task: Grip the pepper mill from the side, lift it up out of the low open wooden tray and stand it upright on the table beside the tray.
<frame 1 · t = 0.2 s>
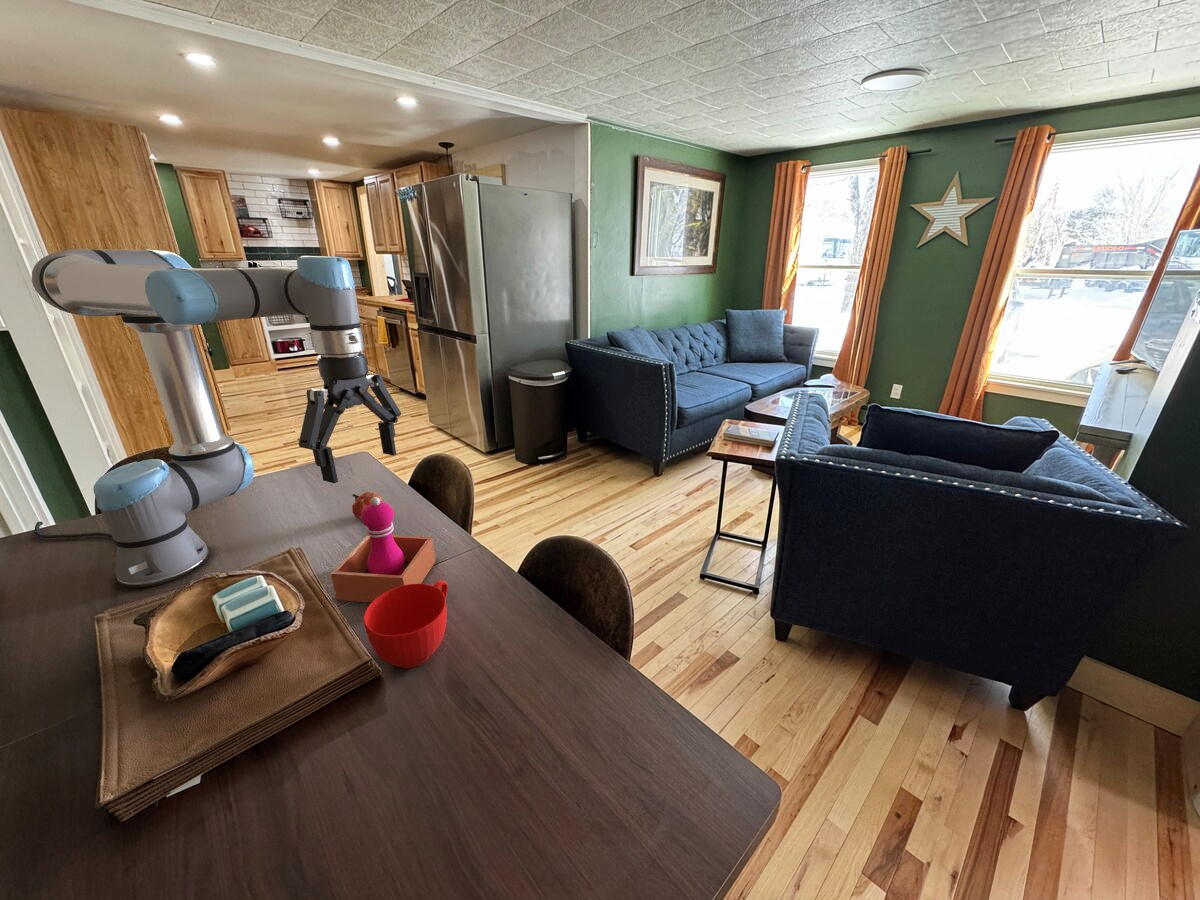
hand: (362, 466, 89), 28 cm above the table, tool pointing down, fingers open, 13 cm apart
pepper mill: (389, 580, 102), resting in open wooden tray
pomegranate: (370, 517, 125), on the table
ceramic cup: (420, 645, 85), on the table
open wooden tray: (389, 579, 102), on the table
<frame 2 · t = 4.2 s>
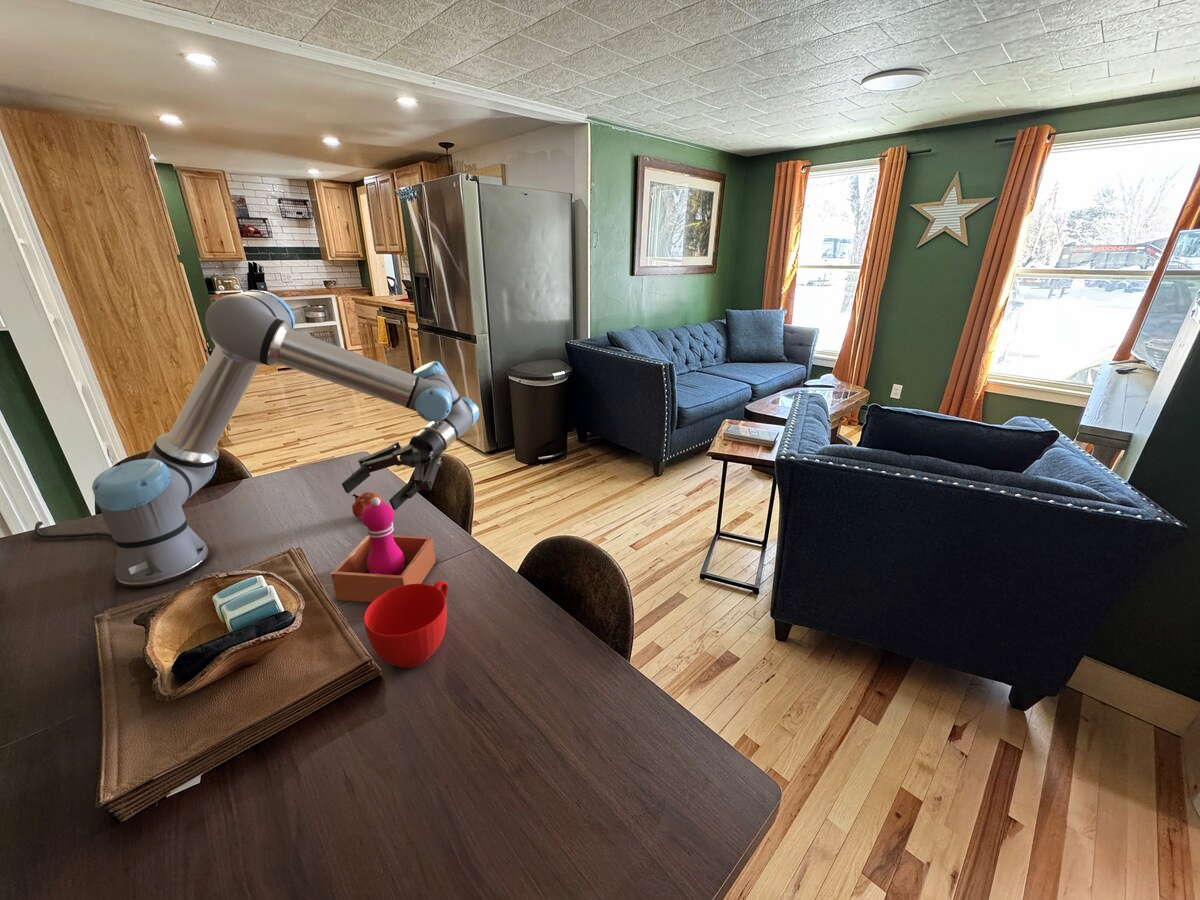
hand: (367, 496, 101), 17 cm above the table, tool tilted 75°, fingers open, 13 cm apart
nothing on the table moved.
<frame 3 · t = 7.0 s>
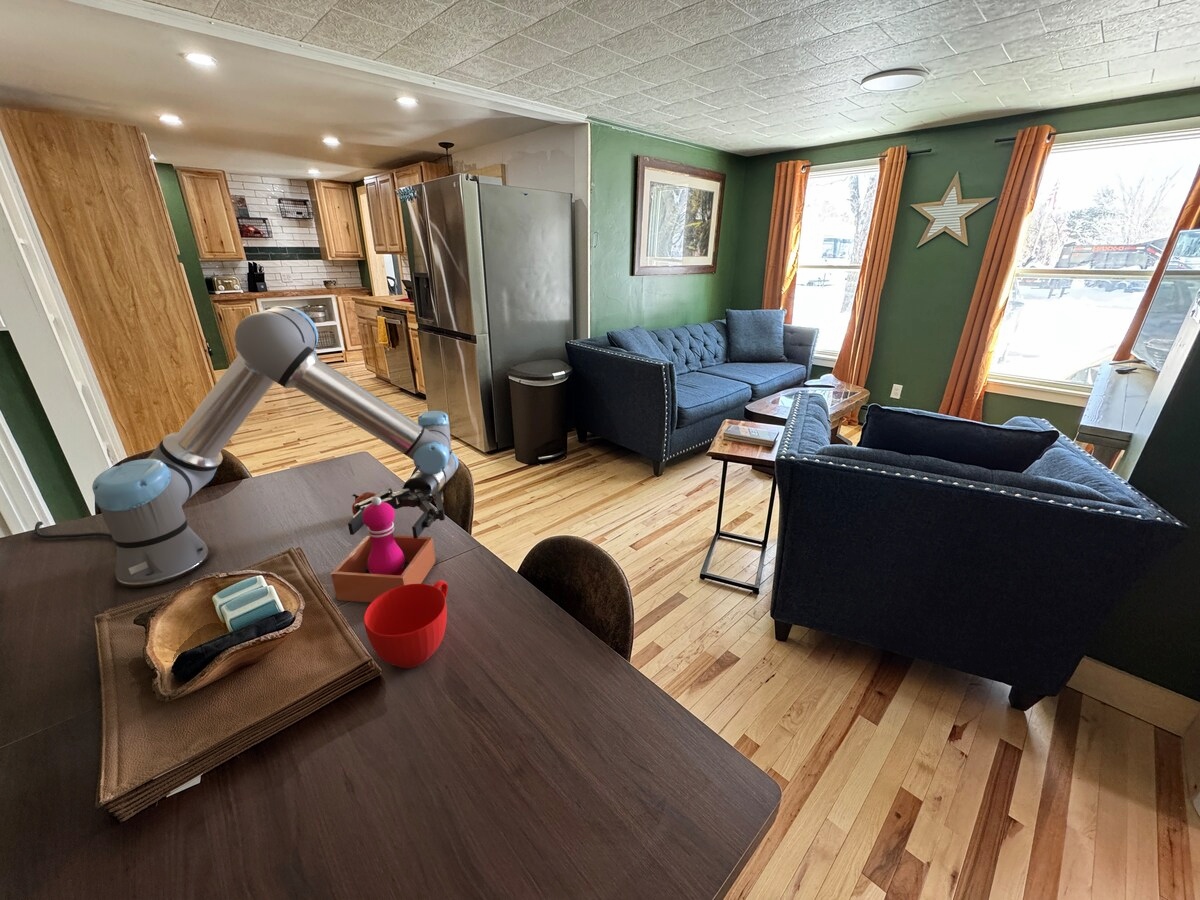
hand: (382, 531, 98), 12 cm above the table, tool horizontal, fingers open, 13 cm apart
nothing on the table moved.
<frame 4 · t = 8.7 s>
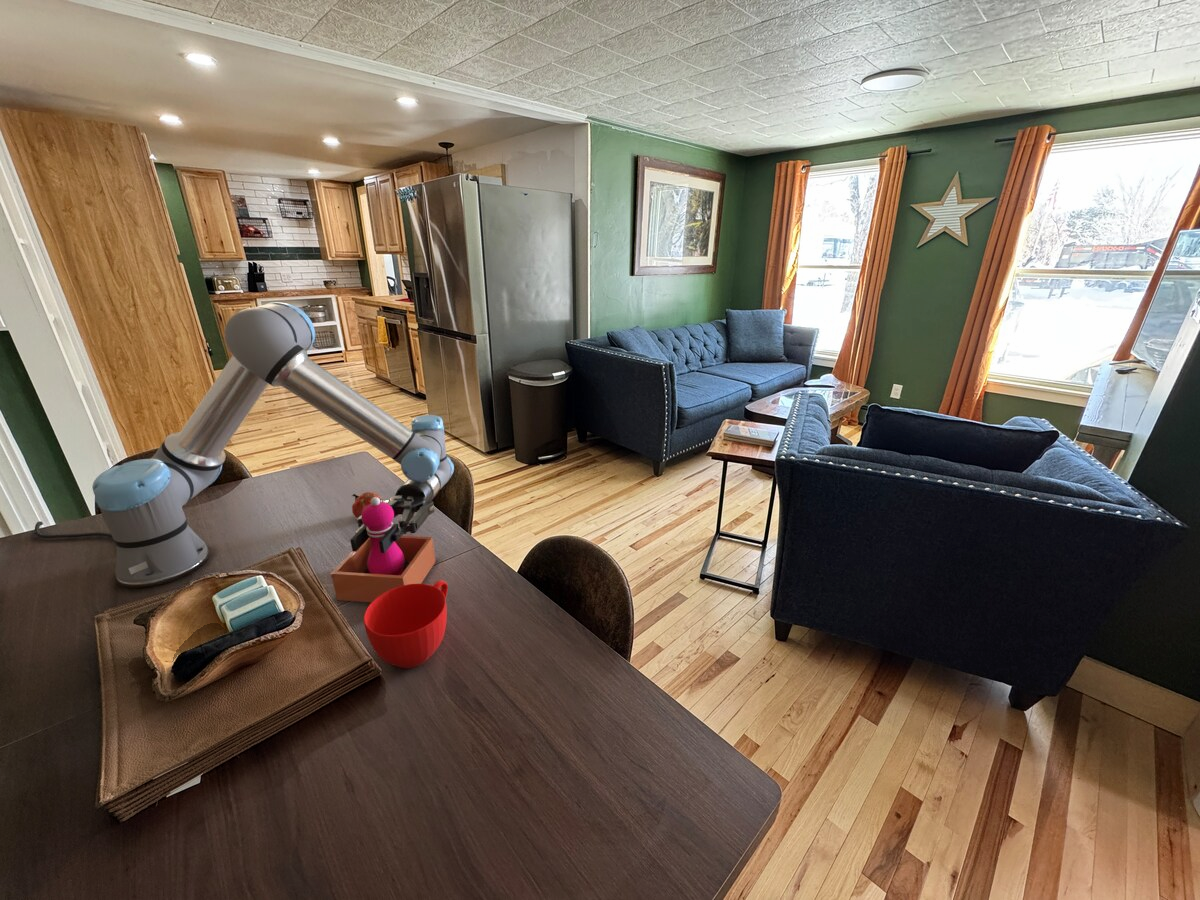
hand: (367, 546, 92), 12 cm above the table, tool horizontal, fingers closed on pepper mill, 5 cm apart
pepper mill: (389, 580, 102), resting in open wooden tray, touching gripper
everything else where it was.
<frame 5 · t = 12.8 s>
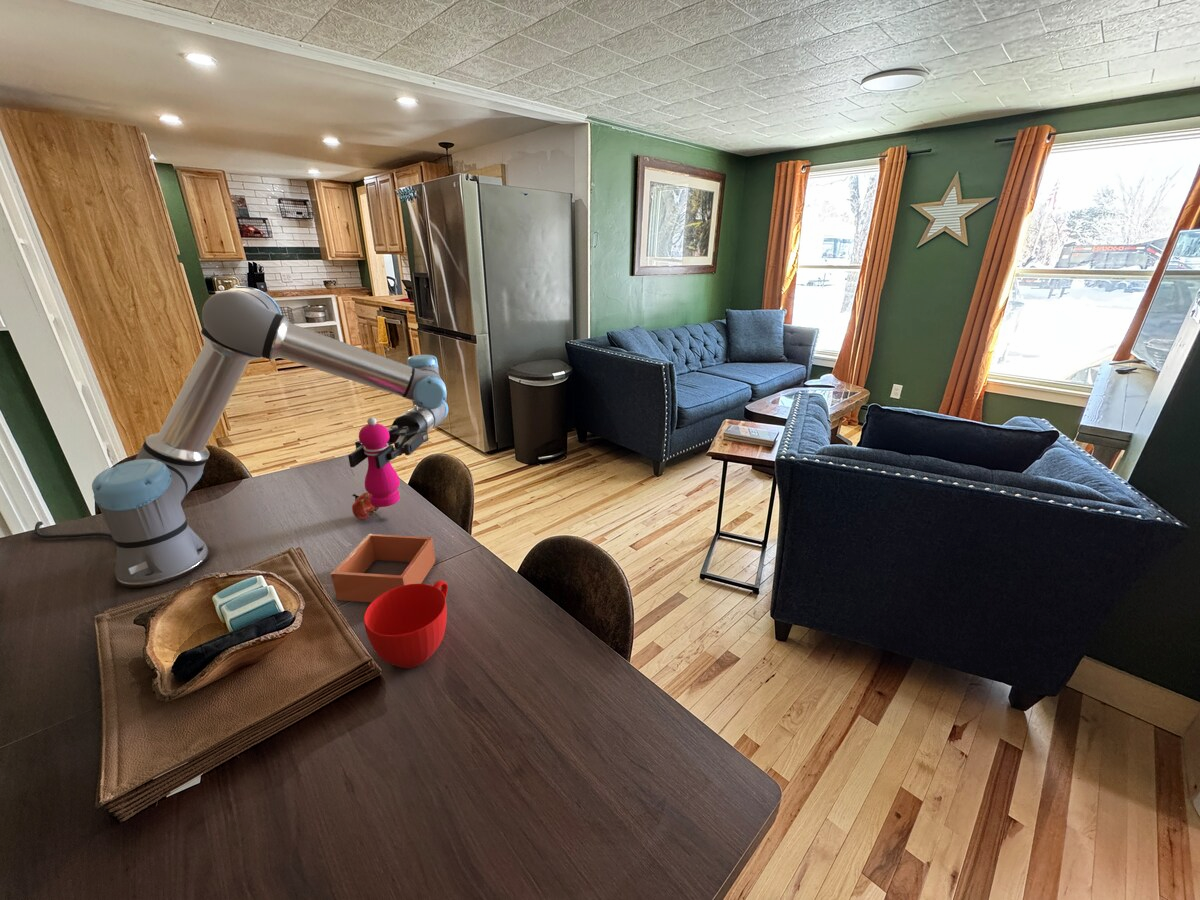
hand: (364, 461, 98), 25 cm above the table, tool horizontal, fingers closed on pepper mill, 5 cm apart
pepper mill: (385, 501, 108), point 13 cm above the table, touching gripper
everything else where it was.
when the fingers open (12 cm above the table, at t = 16.9 s): pepper mill stays where it is, on the table.
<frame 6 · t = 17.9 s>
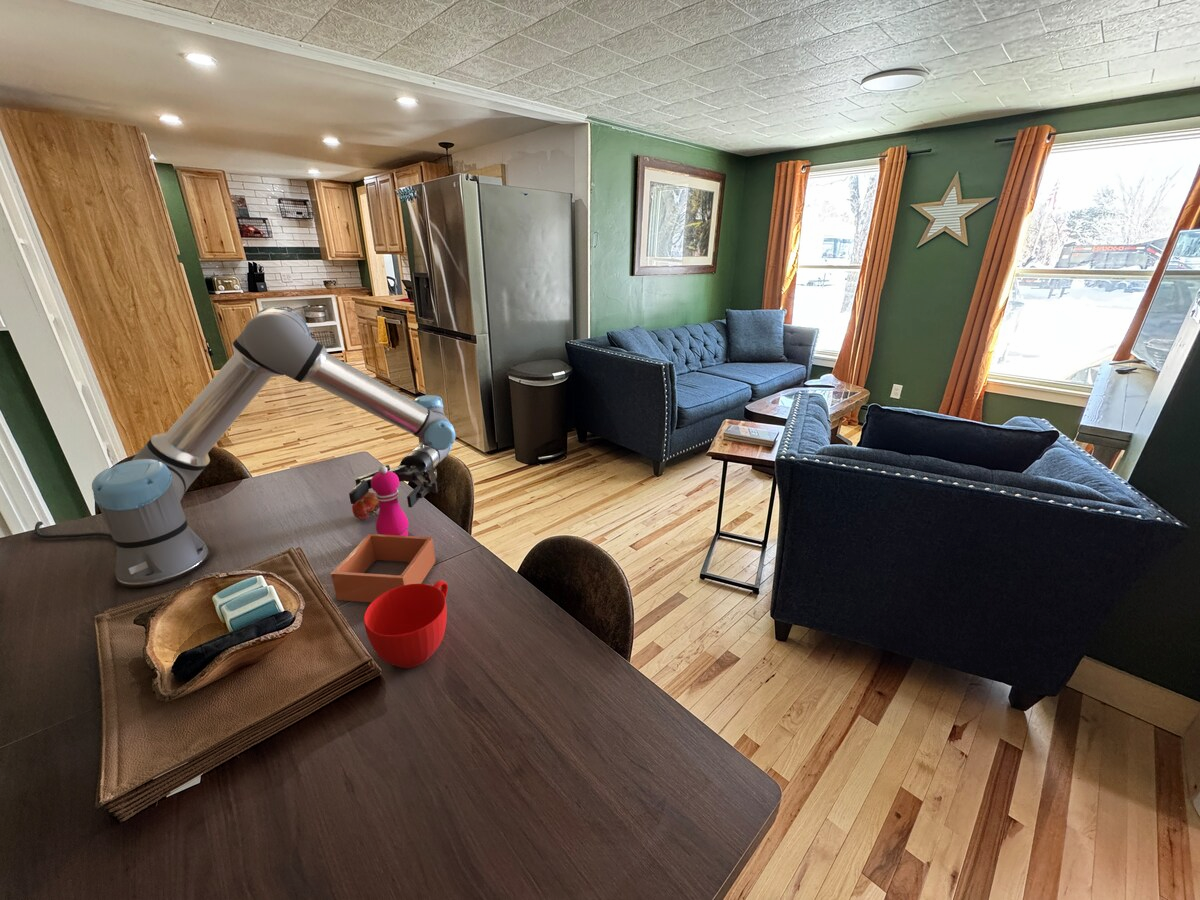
hand: (380, 500, 108), 13 cm above the table, tool horizontal, fingers open, 13 cm apart
pepper mill: (395, 541, 116), on the table
everything else where it was.
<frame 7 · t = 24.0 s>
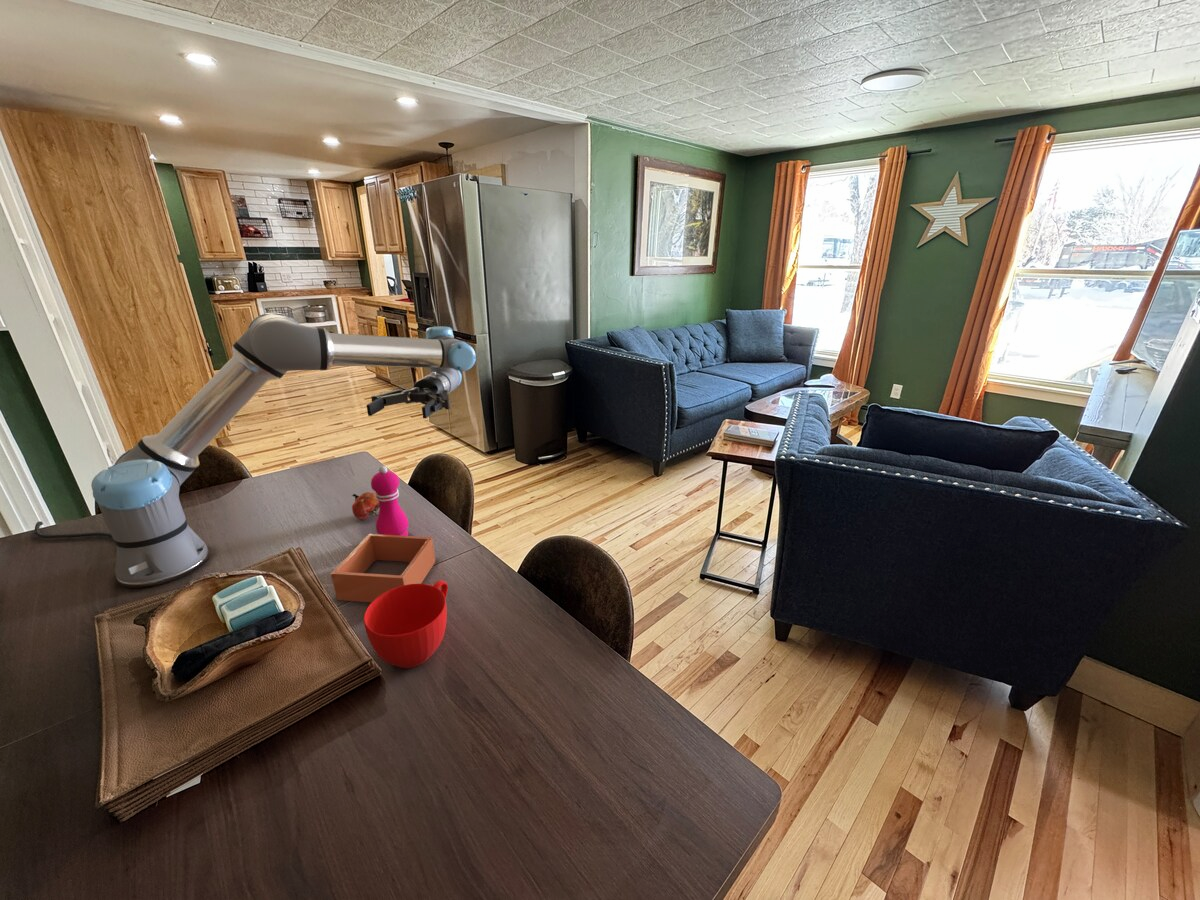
hand: (396, 411, 113), 30 cm above the table, tool horizontal, fingers open, 13 cm apart
nothing on the table moved.
at the end: pepper mill inside the target area (0.1 cm from its centre), on the table; pepper mill tilted 0°; pepper mill touching table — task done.
